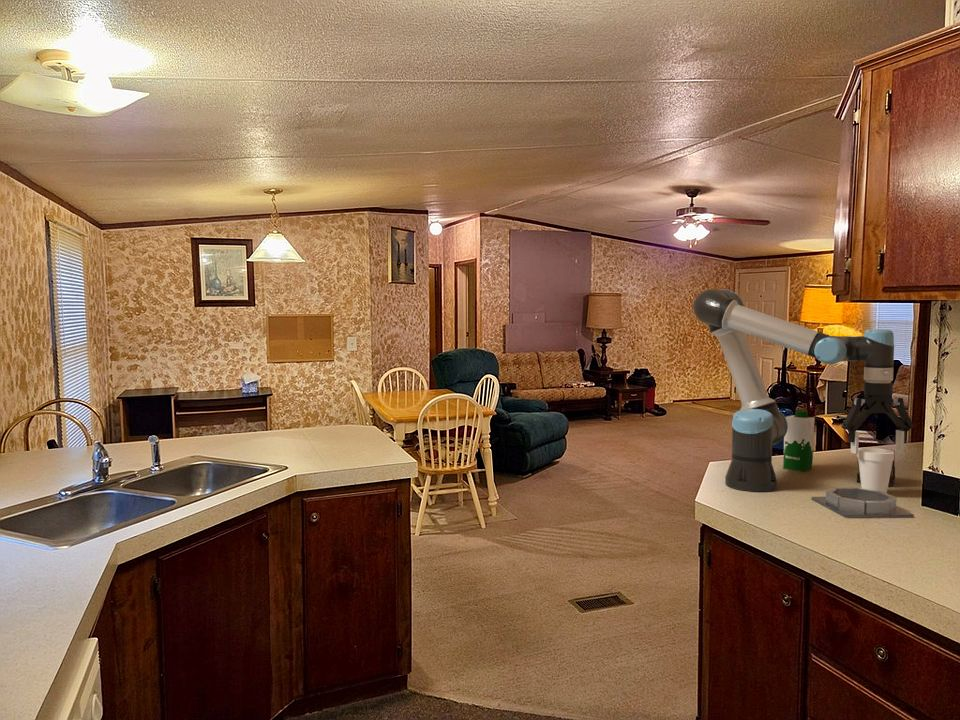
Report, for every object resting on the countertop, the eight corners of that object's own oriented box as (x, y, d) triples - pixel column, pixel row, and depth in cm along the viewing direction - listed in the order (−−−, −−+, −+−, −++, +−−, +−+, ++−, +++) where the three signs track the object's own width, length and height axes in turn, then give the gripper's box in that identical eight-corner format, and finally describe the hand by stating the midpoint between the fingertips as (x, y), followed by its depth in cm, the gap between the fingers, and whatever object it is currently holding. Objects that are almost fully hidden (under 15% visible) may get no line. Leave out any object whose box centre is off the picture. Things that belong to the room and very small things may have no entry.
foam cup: (897, 498, 198) (899, 454, 197) (862, 496, 200) (864, 453, 199) (885, 490, 207) (886, 448, 206) (851, 488, 209) (853, 447, 208)
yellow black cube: (895, 481, 219) (896, 450, 218) (893, 487, 210) (894, 455, 210) (858, 476, 224) (859, 447, 224) (856, 483, 216) (857, 452, 215)
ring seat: (846, 518, 179) (846, 503, 179) (811, 499, 197) (811, 486, 197) (913, 517, 179) (914, 503, 179) (872, 499, 197) (873, 486, 197)
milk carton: (815, 468, 236) (817, 411, 234) (804, 472, 230) (806, 414, 228) (790, 464, 242) (791, 409, 241) (779, 468, 236) (780, 411, 235)
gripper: (843, 383, 197) (842, 456, 198) (928, 382, 197) (926, 454, 199) (829, 381, 204) (828, 451, 206) (911, 379, 205) (910, 449, 206)
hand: (877, 452), depth 202 cm, fingers open, 13 cm apart
